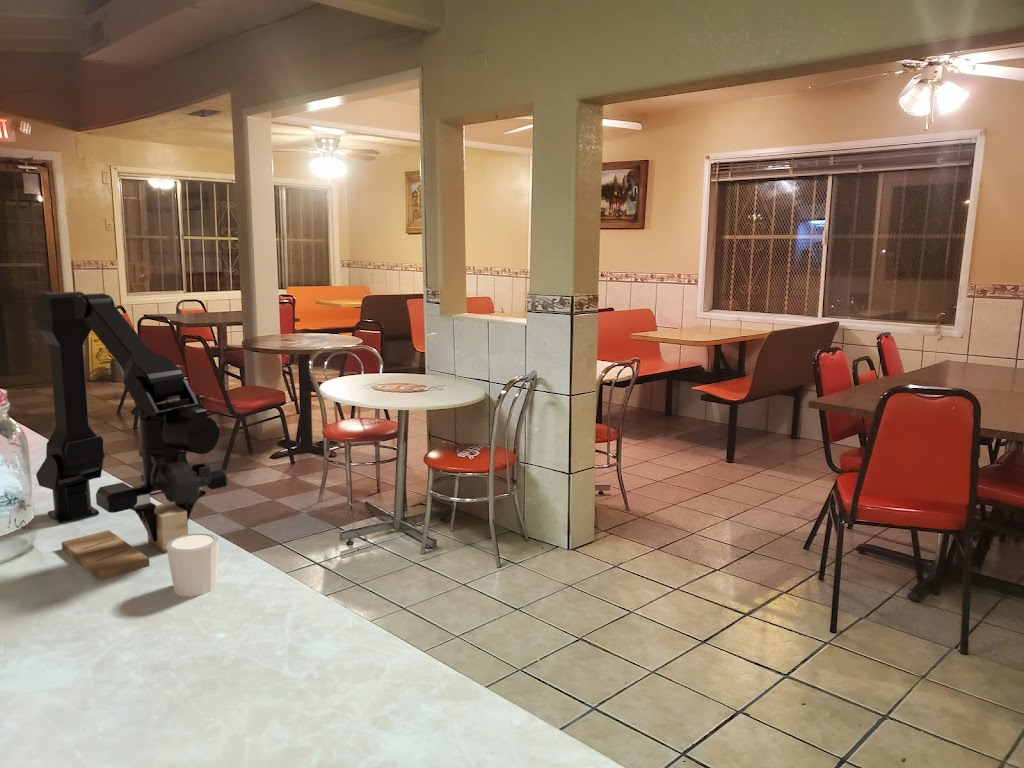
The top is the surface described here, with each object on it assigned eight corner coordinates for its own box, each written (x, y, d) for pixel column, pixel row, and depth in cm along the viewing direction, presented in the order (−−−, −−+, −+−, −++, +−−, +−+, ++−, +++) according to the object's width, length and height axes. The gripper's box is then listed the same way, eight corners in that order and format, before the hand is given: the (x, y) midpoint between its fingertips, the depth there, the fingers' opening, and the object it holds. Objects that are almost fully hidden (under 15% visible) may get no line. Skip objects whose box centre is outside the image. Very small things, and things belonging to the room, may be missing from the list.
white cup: (209, 599, 104) (206, 551, 102) (160, 598, 104) (156, 550, 103) (228, 577, 110) (226, 532, 109) (182, 576, 111) (179, 531, 109)
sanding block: (148, 542, 122) (145, 507, 121) (172, 536, 125) (170, 502, 124) (164, 553, 118) (161, 517, 117) (189, 546, 121) (186, 511, 120)
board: (62, 548, 119) (61, 541, 119) (109, 536, 124) (108, 529, 124) (100, 580, 109) (99, 572, 109) (149, 565, 114) (149, 558, 114)
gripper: (119, 467, 107) (128, 569, 110) (242, 443, 120) (246, 535, 123) (90, 451, 114) (99, 548, 117) (209, 430, 128) (214, 517, 131)
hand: (168, 537), depth 122 cm, fingers closed on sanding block, 4 cm apart
